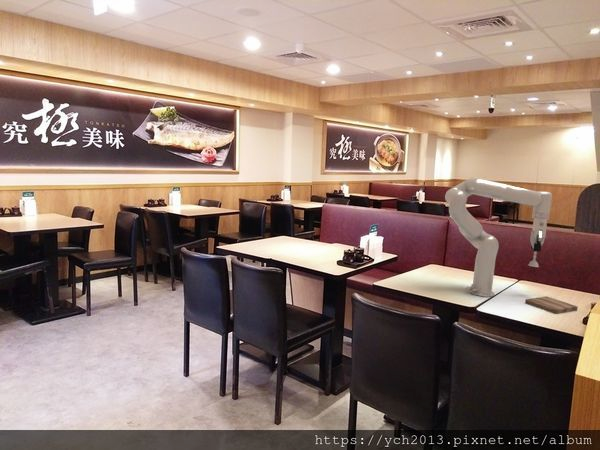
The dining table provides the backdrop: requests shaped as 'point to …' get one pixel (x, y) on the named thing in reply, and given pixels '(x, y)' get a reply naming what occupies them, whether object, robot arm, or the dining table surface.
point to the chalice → (534, 263)
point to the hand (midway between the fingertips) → (535, 249)
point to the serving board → (551, 305)
